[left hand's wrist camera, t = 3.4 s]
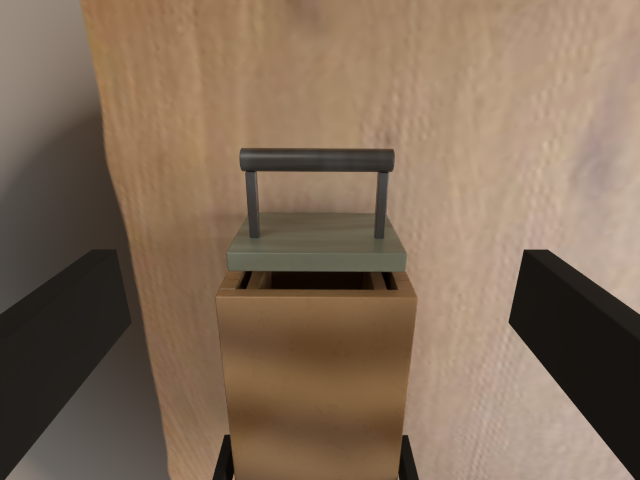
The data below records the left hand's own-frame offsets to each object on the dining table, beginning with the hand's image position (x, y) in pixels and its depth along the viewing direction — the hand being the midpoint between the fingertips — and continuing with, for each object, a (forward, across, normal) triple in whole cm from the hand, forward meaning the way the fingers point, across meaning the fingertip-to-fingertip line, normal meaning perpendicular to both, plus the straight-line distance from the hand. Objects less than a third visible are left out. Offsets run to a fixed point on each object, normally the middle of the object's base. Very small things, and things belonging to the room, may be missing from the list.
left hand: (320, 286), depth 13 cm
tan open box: (+17, 0, -14) cm, 23 cm away
